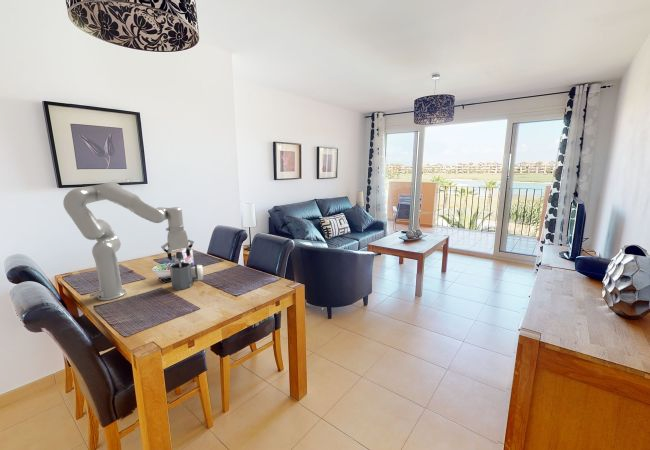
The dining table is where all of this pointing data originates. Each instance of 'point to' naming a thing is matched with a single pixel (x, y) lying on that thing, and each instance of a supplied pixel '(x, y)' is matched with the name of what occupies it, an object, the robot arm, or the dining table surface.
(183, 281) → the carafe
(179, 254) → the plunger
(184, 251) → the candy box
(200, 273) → the mug
